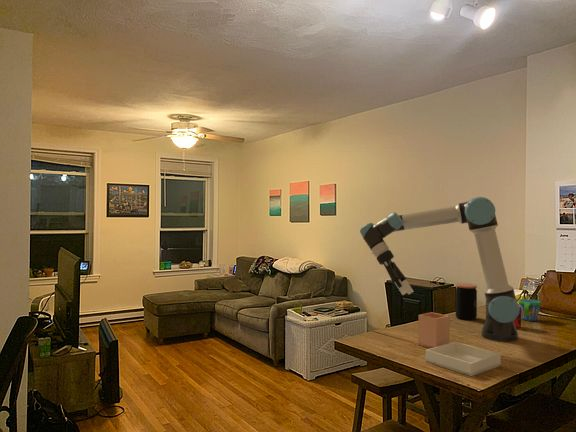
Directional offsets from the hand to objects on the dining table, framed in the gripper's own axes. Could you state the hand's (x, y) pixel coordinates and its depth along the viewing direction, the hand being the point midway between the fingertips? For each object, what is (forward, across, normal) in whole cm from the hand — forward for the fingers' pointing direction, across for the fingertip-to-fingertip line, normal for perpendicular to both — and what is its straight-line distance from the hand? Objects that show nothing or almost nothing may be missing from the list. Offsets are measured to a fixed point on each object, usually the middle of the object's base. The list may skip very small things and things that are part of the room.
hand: (408, 293), depth 201 cm
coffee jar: (+22, -57, +9) cm, 62 cm away
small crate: (+24, +2, -3) cm, 24 cm away
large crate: (+34, +21, +6) cm, 40 cm away
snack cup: (+39, -69, +35) cm, 86 cm away
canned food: (+36, -48, +26) cm, 66 cm away
